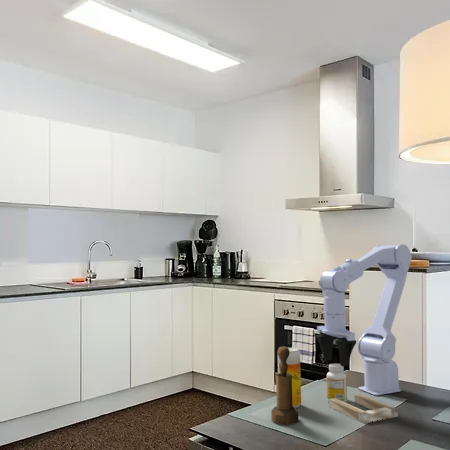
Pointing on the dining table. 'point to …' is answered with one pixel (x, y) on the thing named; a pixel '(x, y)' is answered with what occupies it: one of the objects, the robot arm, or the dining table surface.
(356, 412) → the slide channel
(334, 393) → the supplement bottle
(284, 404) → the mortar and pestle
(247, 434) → the dining table surface
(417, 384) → the dining table surface
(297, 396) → the beer can
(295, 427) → the dining table surface
